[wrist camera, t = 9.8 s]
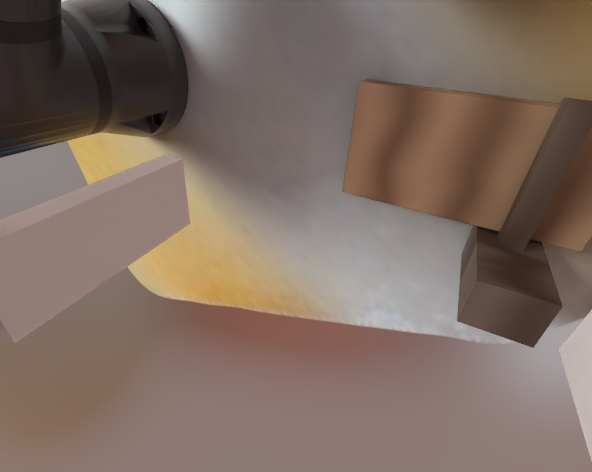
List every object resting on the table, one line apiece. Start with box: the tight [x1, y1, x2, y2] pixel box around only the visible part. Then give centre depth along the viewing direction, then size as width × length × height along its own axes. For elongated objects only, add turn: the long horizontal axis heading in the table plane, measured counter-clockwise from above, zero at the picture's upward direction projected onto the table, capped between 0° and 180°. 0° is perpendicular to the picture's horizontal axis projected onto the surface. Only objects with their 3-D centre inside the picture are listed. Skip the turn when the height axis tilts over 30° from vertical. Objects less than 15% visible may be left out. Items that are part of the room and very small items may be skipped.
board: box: [342, 80, 592, 252], centre depth 27 cm, size 20×10×2 cm, turn 85°
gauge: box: [457, 98, 592, 347], centre depth 24 cm, size 5×16×10 cm, turn 175°
